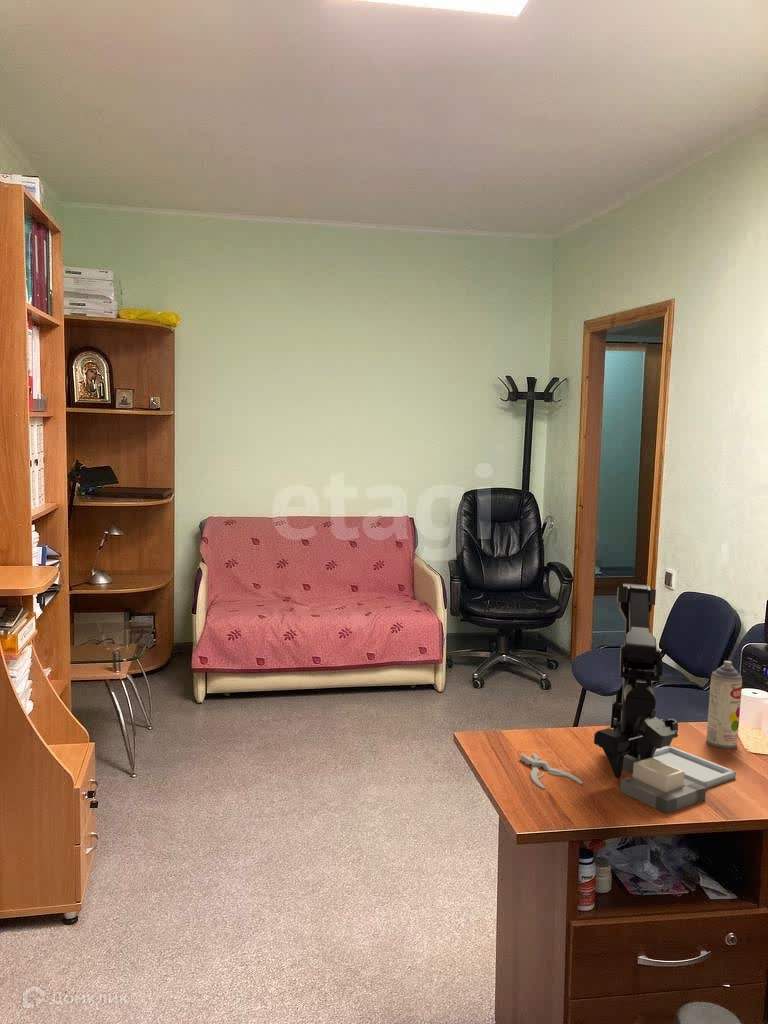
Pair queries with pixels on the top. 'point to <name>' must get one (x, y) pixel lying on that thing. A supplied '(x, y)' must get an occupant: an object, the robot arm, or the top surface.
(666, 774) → the box
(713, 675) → the aerosol can
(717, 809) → the top surface
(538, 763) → the pliers
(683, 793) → the bay
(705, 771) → the tray
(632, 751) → the robot arm
